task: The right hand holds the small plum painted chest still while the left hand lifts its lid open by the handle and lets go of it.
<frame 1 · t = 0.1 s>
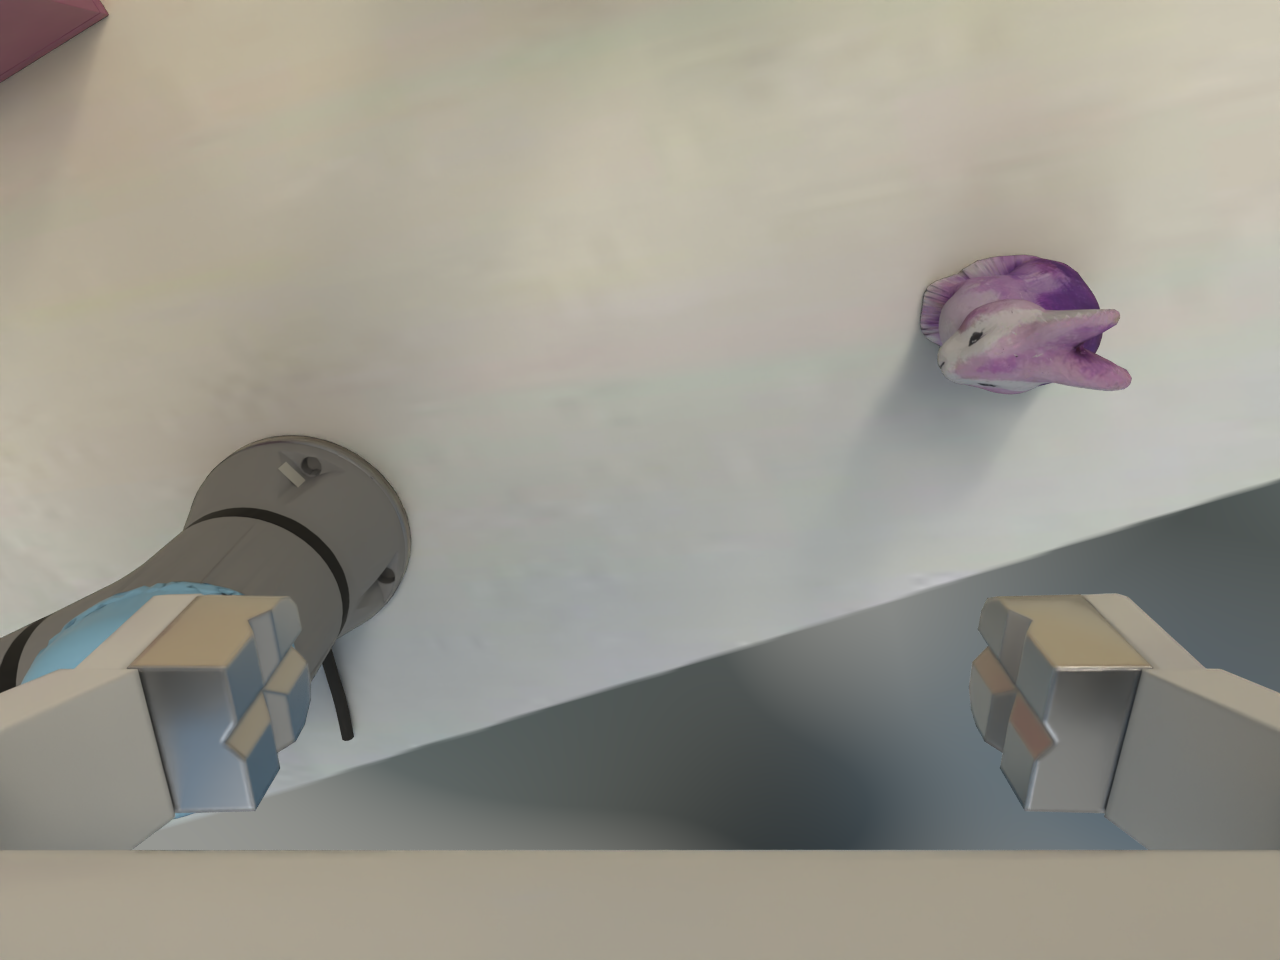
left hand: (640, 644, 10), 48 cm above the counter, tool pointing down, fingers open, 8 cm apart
figurine: (983, 318, 57), on the counter
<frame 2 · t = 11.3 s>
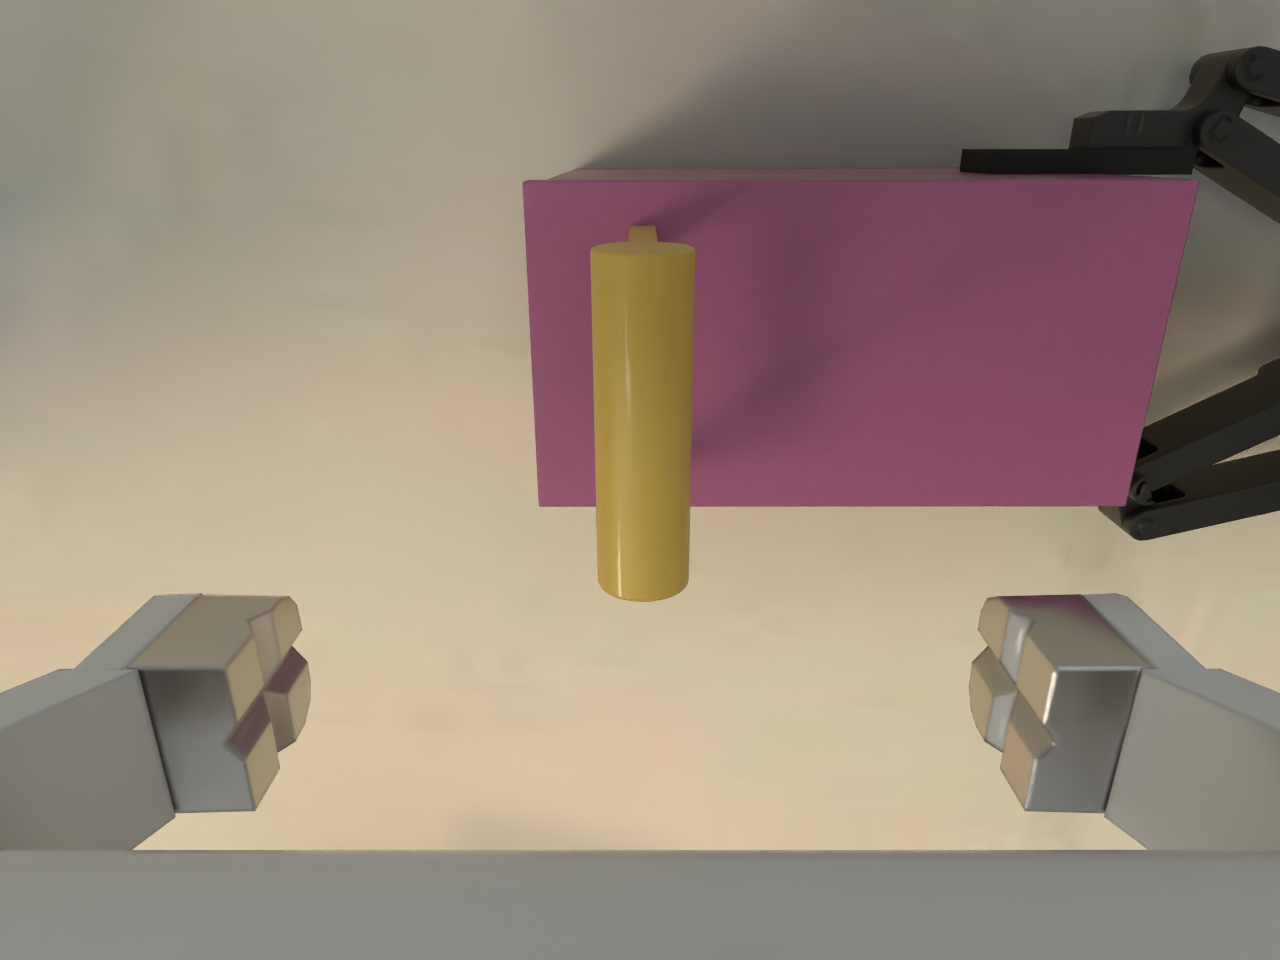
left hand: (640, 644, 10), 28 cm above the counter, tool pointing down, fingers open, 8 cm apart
lid: (874, 385, 21), point 16 cm above the counter, hinge at 0.0°
chest: (785, 287, 36), on the counter, touching right hand
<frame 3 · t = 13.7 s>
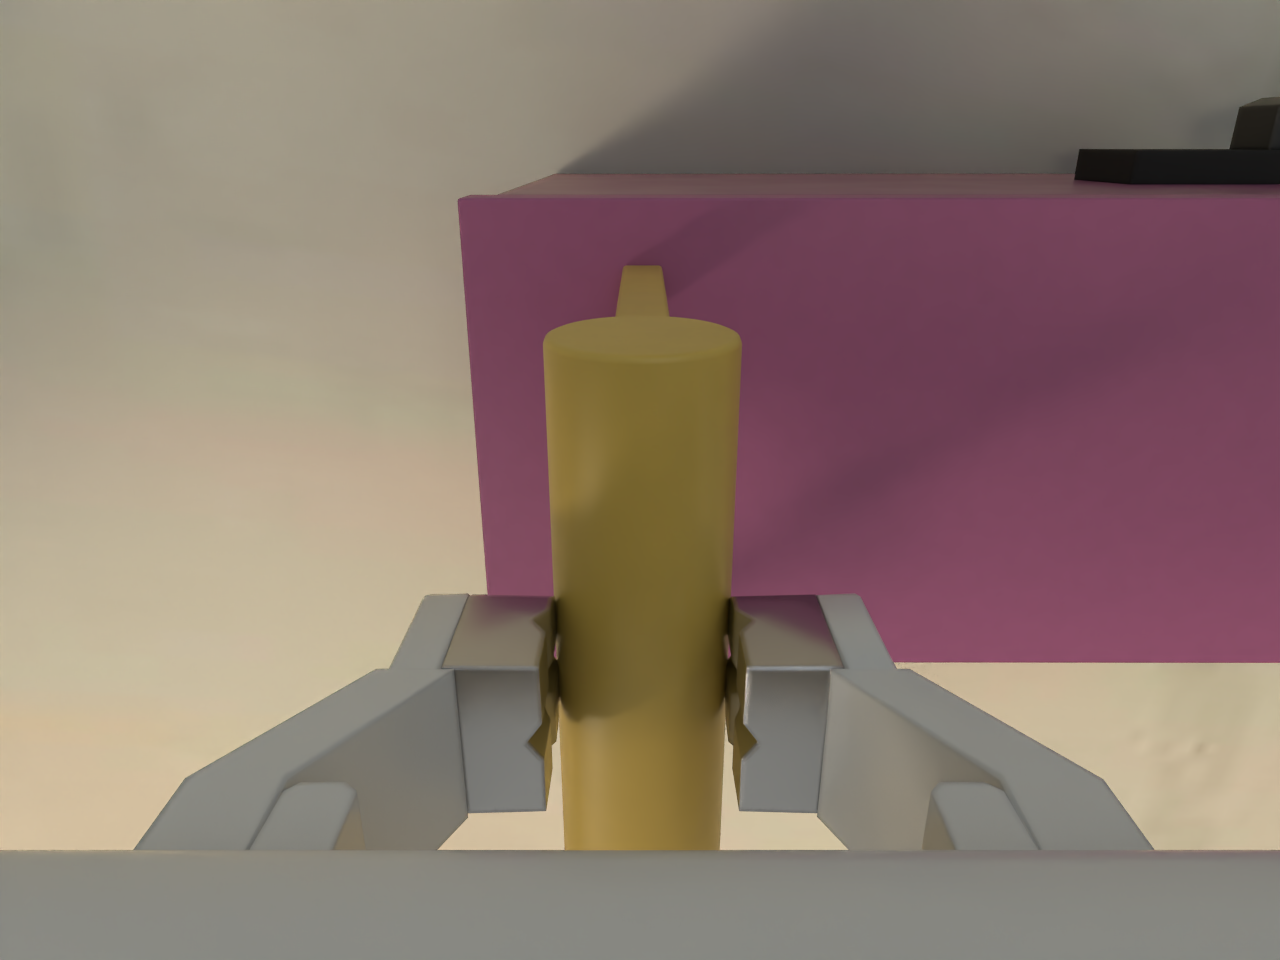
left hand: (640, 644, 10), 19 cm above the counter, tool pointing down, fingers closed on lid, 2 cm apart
lid: (1011, 526, 13), point 16 cm above the counter, hinge at 0.0°, touching left hand
chest: (825, 326, 28), on the counter, touching right hand
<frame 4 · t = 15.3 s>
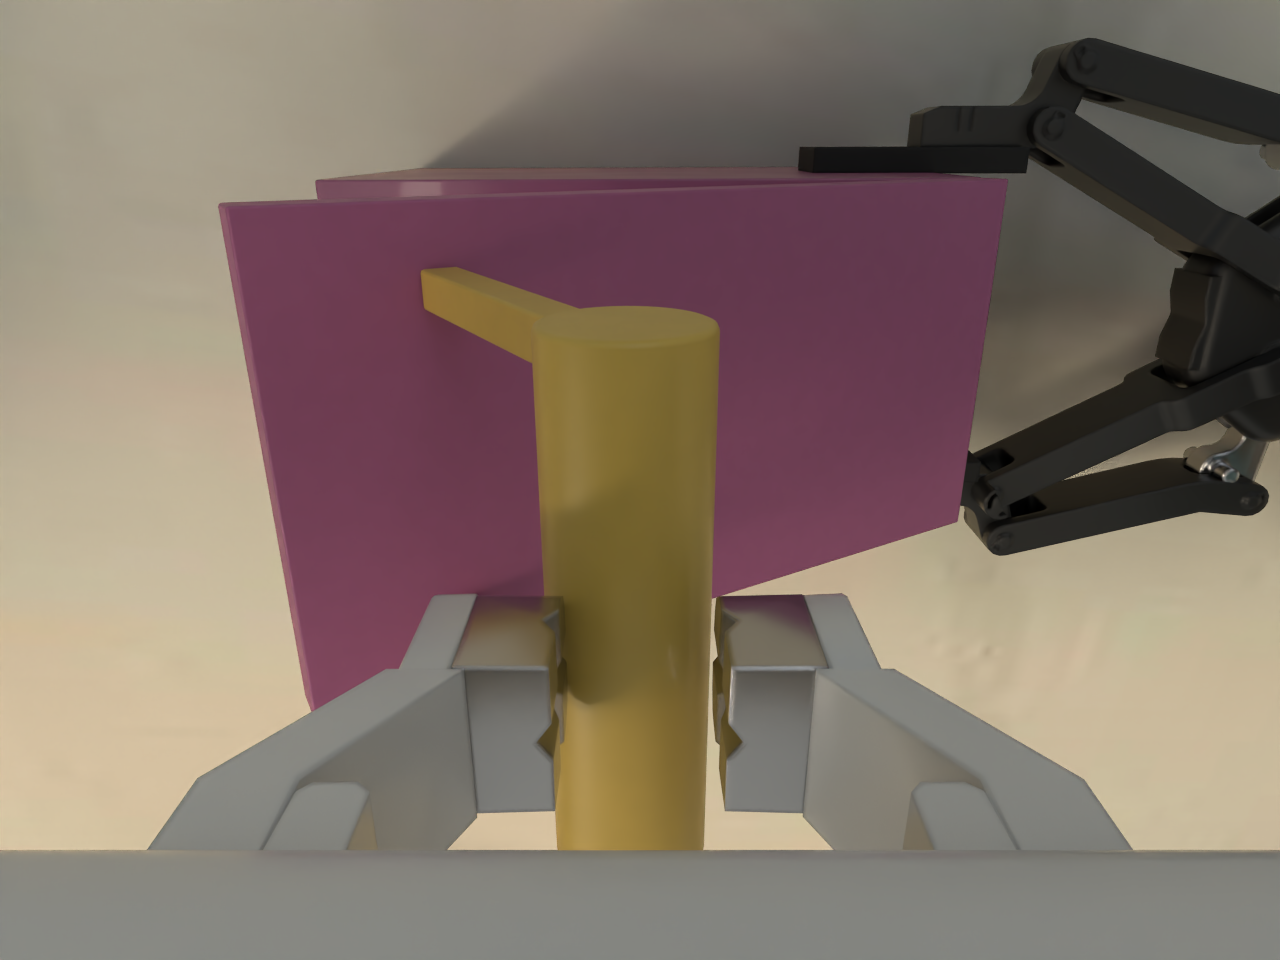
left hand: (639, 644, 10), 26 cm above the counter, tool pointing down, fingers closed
right hand: (795, 319, 29), fingers closed on chest, 9 cm apart
lid: (807, 458, 16), point 20 cm above the counter, hinge at 30.8°, touching left hand
chest: (646, 291, 34), on the counter, touching right hand
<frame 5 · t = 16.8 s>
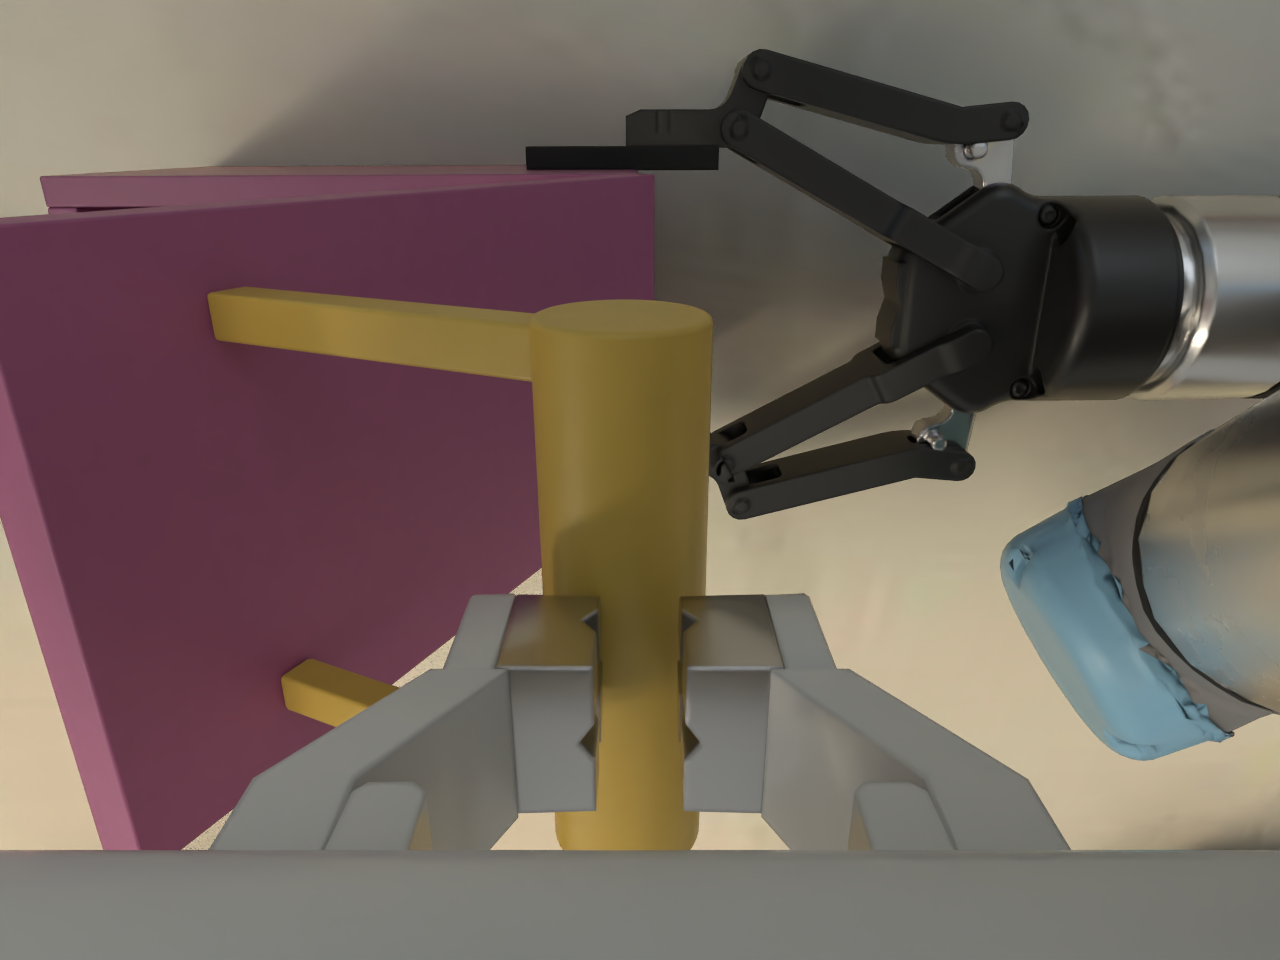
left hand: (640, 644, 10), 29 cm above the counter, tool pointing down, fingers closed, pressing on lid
right hand: (537, 303, 32), fingers closed on chest, 9 cm apart
lid: (611, 437, 17), point 22 cm above the counter, hinge at 62.8°, touching left hand
chest: (434, 280, 37), on the counter, touching right hand
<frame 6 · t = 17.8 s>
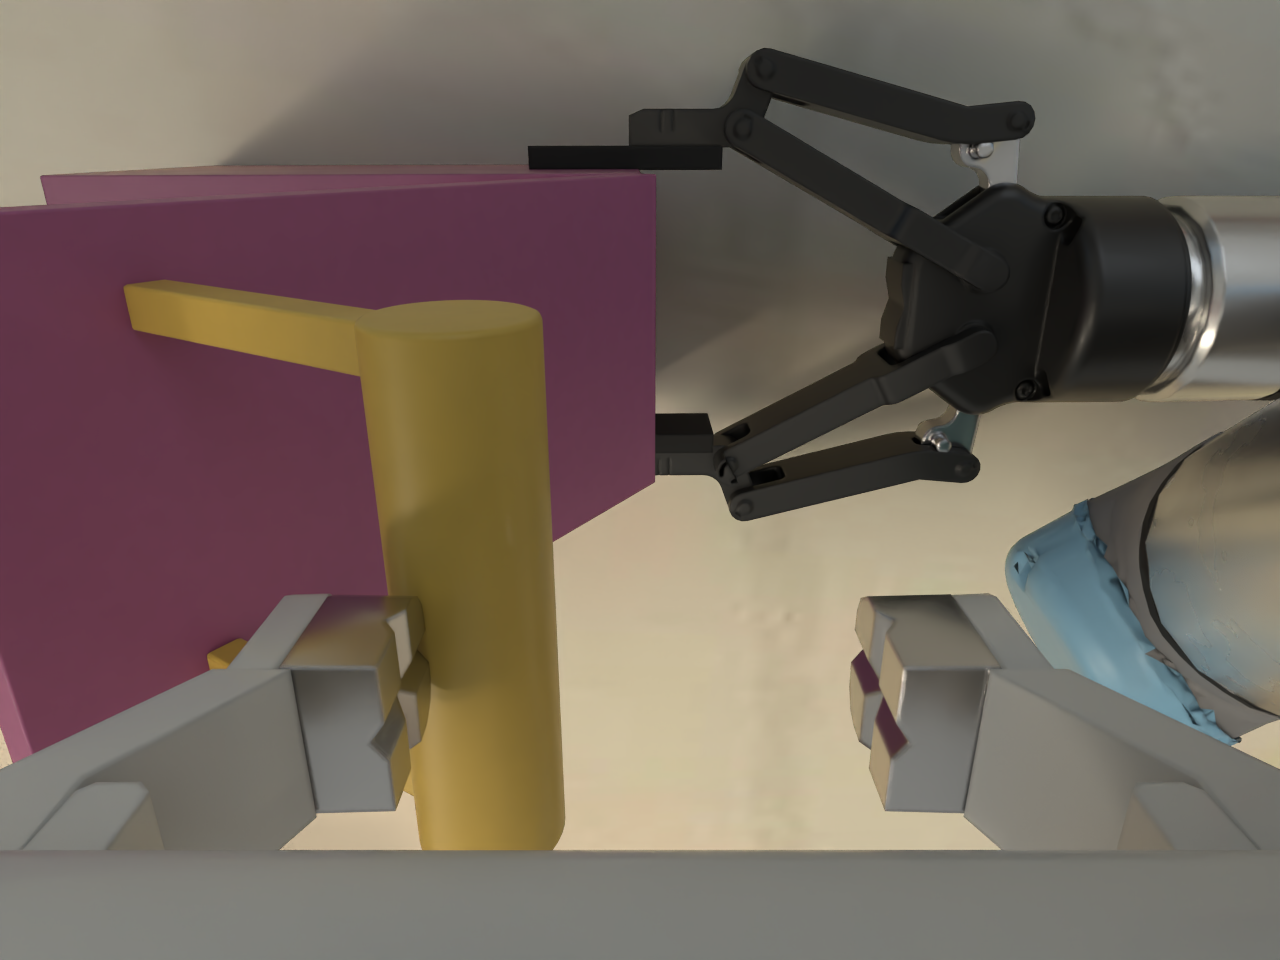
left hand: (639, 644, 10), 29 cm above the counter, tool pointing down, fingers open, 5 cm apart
right hand: (539, 303, 32), fingers closed on chest, 9 cm apart
lid: (556, 437, 17), point 21 cm above the counter, hinge at 56.0°, touching left hand
chest: (436, 280, 37), on the counter, touching right hand
when the right hand's fingers open (6 cm above the counter, at t = 21.5 s): chest stays where it is, on the counter.
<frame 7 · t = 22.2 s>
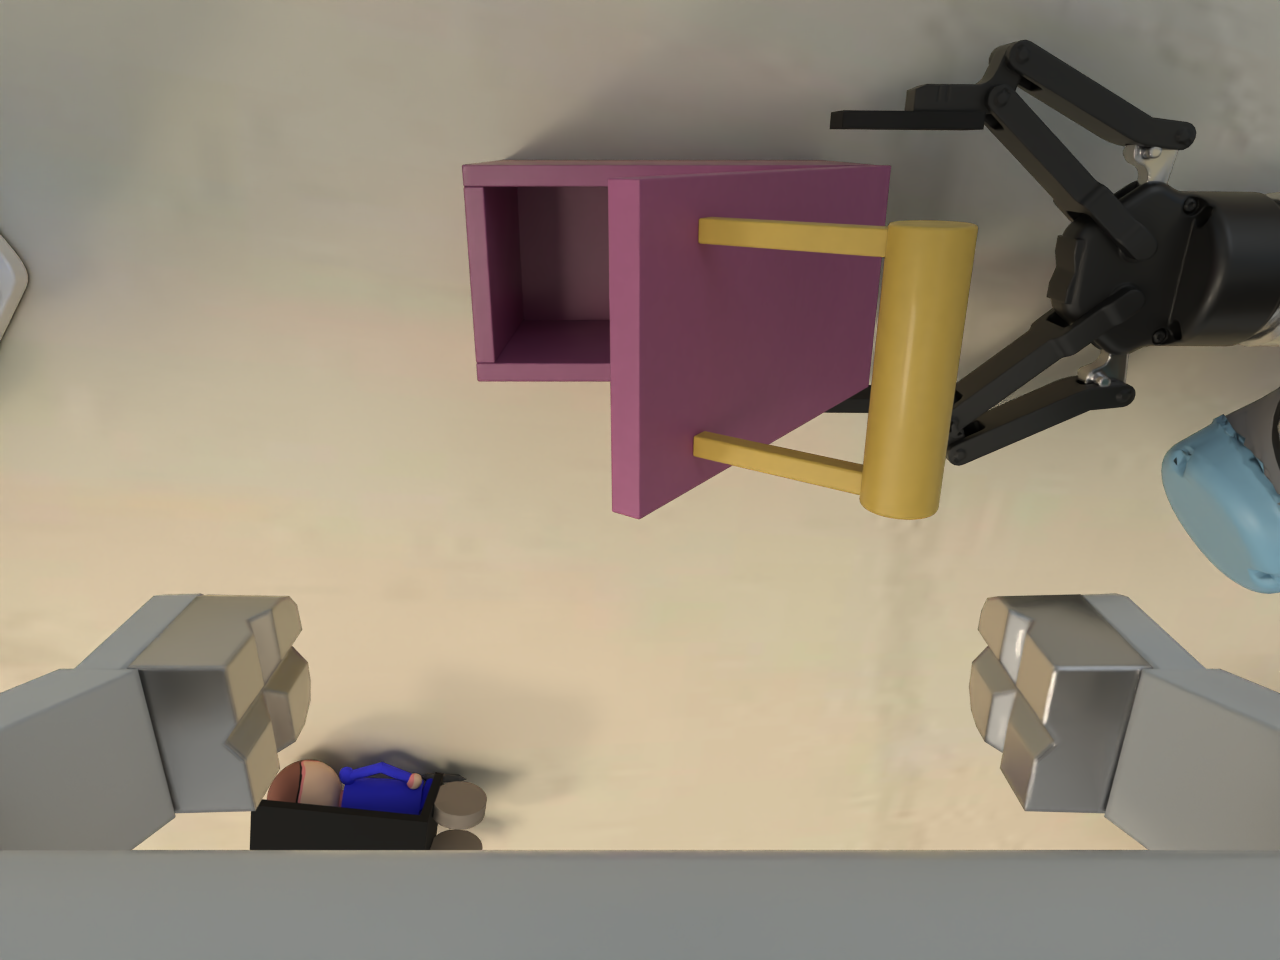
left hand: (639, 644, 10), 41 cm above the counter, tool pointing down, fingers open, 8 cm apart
right hand: (822, 267, 43), fingers open, 13 cm apart
lid: (875, 323, 28), point 21 cm above the counter, hinge at 54.7°
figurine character: (389, 779, 62), on the counter
chest: (661, 249, 48), on the counter
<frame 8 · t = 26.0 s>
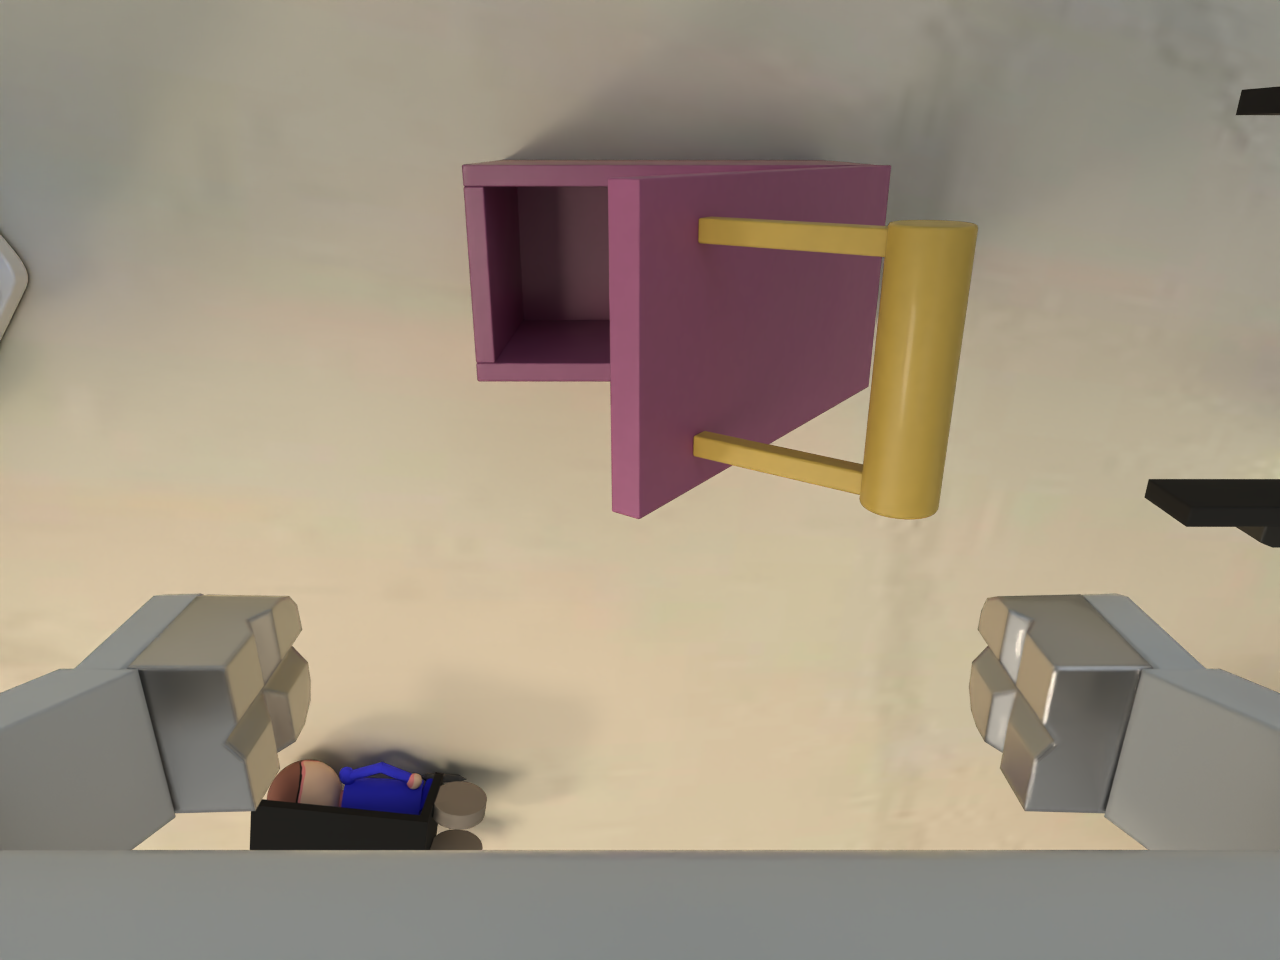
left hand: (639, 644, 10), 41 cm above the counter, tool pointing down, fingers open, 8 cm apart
lid: (876, 323, 28), point 21 cm above the counter, hinge at 54.7°
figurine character: (389, 779, 62), on the counter
chest: (661, 249, 48), on the counter
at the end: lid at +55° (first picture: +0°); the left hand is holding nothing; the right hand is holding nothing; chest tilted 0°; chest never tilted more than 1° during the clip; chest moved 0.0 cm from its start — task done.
